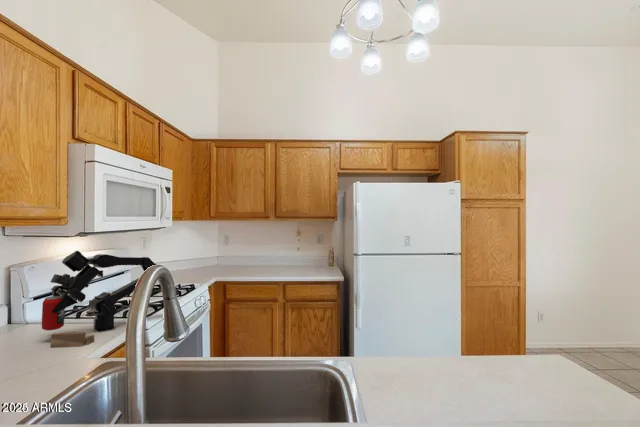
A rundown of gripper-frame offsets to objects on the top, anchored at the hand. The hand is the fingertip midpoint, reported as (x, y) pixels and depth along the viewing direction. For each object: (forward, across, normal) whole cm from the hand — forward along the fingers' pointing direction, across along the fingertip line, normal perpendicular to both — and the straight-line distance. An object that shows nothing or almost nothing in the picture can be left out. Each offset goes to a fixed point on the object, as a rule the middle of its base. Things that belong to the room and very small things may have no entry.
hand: (49, 311), depth 127 cm
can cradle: (+6, +12, +10) cm, 17 cm away
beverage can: (+4, 0, +6) cm, 7 cm away
